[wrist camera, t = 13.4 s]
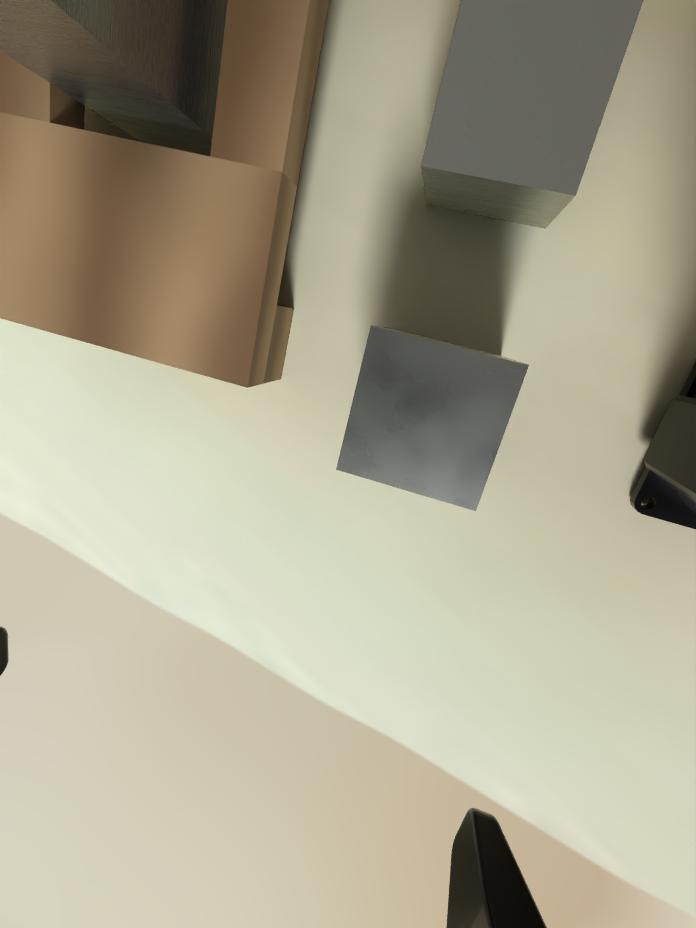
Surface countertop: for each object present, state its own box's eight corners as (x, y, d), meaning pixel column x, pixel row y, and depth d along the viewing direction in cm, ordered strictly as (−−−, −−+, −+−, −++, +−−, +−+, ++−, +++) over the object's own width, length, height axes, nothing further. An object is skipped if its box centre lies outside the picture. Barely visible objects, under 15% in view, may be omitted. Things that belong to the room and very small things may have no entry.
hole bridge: (402, -283, 13) (389, -492, 10) (280, 378, 19) (247, 387, 16) (78, -305, 14) (-30, -496, 11) (64, 319, 21) (-7, 316, 17)
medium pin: (500, 355, 17) (528, 365, 12) (465, 458, 19) (476, 511, 13) (393, 328, 18) (370, 325, 12) (367, 430, 19) (336, 469, 14)
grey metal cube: (592, 84, 15) (644, -4, 11) (544, 228, 16) (575, 195, 12) (462, 63, 15) (468, -27, 11) (426, 204, 16) (421, 166, 13)
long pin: (258, 24, 16) (48, -331, 7) (240, 162, 17) (46, -5, 9) (150, 6, 16) (-160, -343, 8) (141, 141, 18) (-132, -35, 9)
